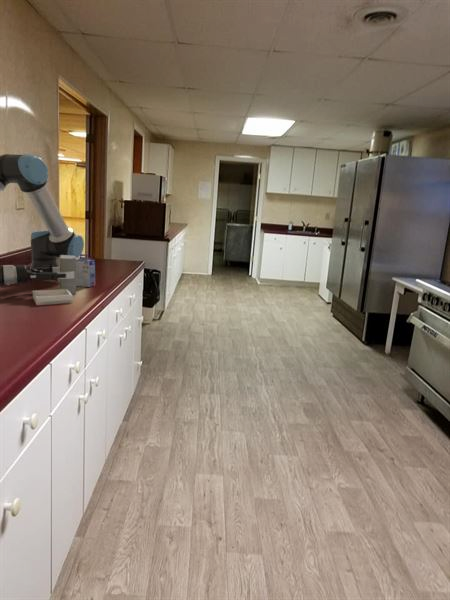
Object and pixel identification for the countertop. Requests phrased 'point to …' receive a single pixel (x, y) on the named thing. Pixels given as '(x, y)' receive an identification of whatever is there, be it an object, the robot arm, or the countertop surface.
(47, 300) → the tray
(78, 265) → the ink cartridge box
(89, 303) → the countertop surface
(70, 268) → the skincare box
